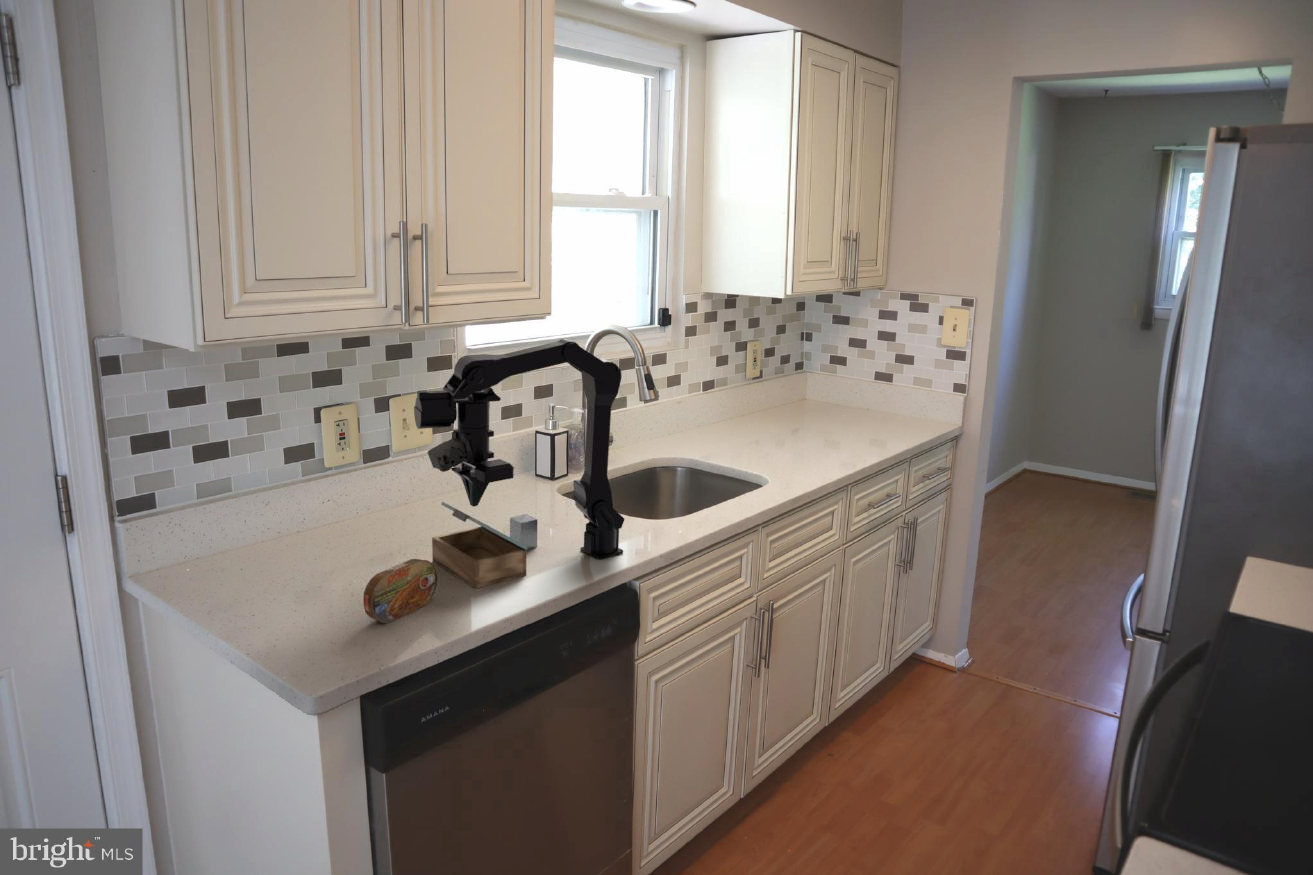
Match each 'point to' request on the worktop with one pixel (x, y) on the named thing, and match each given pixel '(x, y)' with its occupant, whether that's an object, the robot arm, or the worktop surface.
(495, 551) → the box
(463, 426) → the robot arm
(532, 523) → the block
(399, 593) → the tin
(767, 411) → the worktop surface
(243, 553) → the worktop surface
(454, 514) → the lid
